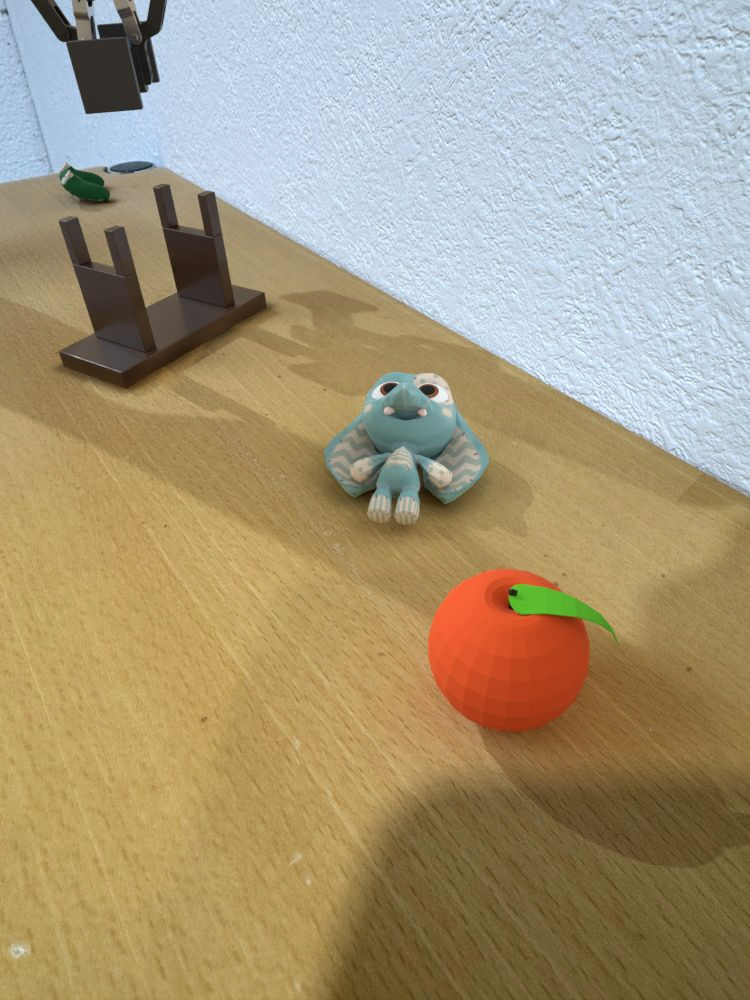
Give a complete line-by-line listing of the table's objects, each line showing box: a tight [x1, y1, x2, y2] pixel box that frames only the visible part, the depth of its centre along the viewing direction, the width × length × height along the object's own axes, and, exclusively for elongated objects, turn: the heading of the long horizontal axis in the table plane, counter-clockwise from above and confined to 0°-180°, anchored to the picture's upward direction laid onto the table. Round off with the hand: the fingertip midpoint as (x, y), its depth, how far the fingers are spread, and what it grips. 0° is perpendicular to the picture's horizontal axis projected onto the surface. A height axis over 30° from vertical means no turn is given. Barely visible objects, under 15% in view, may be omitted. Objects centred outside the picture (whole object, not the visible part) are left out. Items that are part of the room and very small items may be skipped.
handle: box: [65, 20, 161, 115], centre depth 64 cm, size 16×5×5 cm, turn 8°
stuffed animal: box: [323, 371, 490, 526], centre depth 44 cm, size 11×7×12 cm
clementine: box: [427, 568, 620, 733], centre depth 30 cm, size 8×7×7 cm
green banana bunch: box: [58, 161, 111, 202], centre depth 100 cm, size 9×4×6 cm
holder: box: [58, 183, 268, 389], centre depth 61 cm, size 18×8×12 cm, turn 147°
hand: (125, 92), depth 66 cm, fingers closed on handle, 3 cm apart
